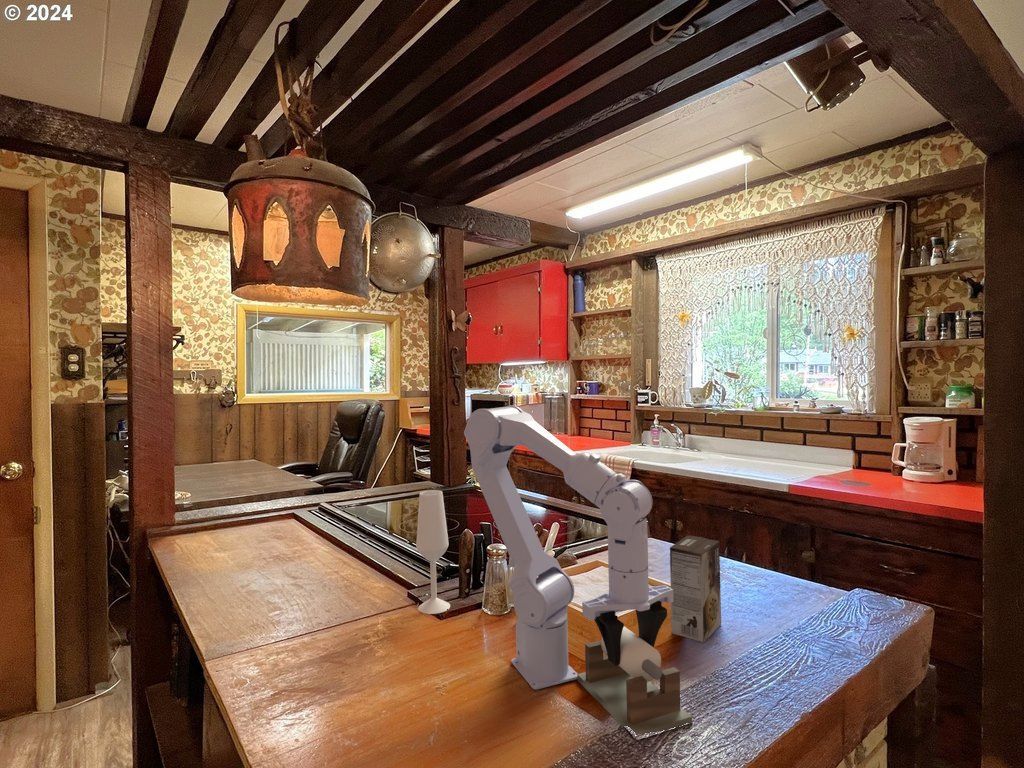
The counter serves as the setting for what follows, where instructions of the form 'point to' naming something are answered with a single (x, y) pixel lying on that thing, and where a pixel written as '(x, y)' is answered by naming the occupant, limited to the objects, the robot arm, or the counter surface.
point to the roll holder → (633, 694)
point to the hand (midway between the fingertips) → (630, 657)
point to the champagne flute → (432, 542)
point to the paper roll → (638, 656)
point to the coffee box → (695, 587)
